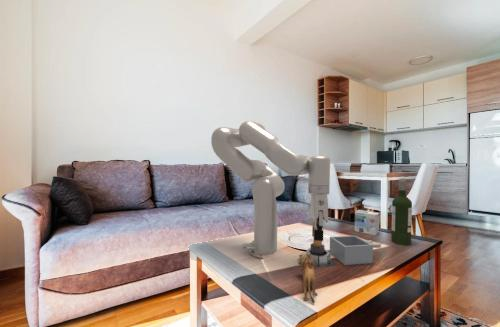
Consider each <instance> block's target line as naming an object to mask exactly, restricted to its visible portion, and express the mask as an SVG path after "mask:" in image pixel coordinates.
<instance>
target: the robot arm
mask: <svg viewBox="0 0 500 327" xmlns="http://www.w3.org/2000/svg"><path fill="white" fill-rule="evenodd" d="M210 140H211V142H210V143H211V148H212V150H213V153H215V155H216V157H217V158H219V160H220V161H221V162H223V163H224V164H225V165H226V166H228V168H229V169H230V170H231V171H232V172H233V173H234V174H235V175H236V176H237V177H238V178H239V179H240V180H242V181H243V183H244V182H245V183H252V184H253V185H252V190H251V191H252V192H251V193H252V198H253V217H254V218H253V219H254V220H253V240H252V241H251V242H249V243H242V249H246V251H249V252H250V255H251V256H253V257H254V258H257V259H262V260H263V259H264V258H263V256H262V255H272V254H275V253H277V251H278V205H277V199H276V198H277V197H279V196H281V195H282V194H283V193H284V191H285V188H286V187H285V186H286V185H285V182H284V180H283V179H282V178H281V176H280V175H279V174H277V172H276V171H274V170H273V169H272V168H271V167H270V166H268V164H266V163H265V162H263V161H261V160H258V159H250V158H248V157H247V156H246V155H245V154H244V153H243V152H242V151H240V150H239V149H238V148H240V147H244V146H249V145H251V146H252V147H253V148H255V149H256V150H258V151H259V152H261V153H262V154H263V155H264V156H265V157H266V158H267V159H268V160H269V161H270V163H272V164H273V165H274V166H275V167H277V168H278V169H280V170H282V172H285V174H287V175H288V176H289V175H290V176H293V177H294V176H295V177H296V176H301V175H308V180H307V181H308V187H307V188H308V190H307V192H308V193H307V194H308V195H309V194H310V216H311V219H312V233H311V234H312V235H311V236H312V237H313V238H314V240H315V241H322V242H323V241H324V222H325V223H328V222H329V198H328V195H330V180H331V179H330V178H331V176H330V175H331V159H330V157H328V156H327V155H326V156H324V155H313V156H307V155H302V154H301V155H300V154H299V155H298V154H296V153H294V152H292V151H290V150H289V149H287V148H286V147H285V146H283V144H281V143H280V142H279V139H278V137H277V136H276V135H274V134H273V133H272V132H270V131H268V130H267V129H266V128H265V126H264V125H263V124H261V123H259V122H256V121H252V120H247V121H244V122H242V123H241V124H240V126H239V127H238V128H233V127H228V126H221V127H218V128H216V129H214V131H213V132H212V135H211V138H210ZM253 182H254V183H253ZM317 220H319V221H317ZM314 221H315V229H314ZM317 223H319V224H317Z"/></svg>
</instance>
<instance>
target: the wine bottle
mask: <svg viewBox="0 0 500 327" xmlns="http://www.w3.org/2000/svg"><path fill="white" fill-rule="evenodd" d="M406 181H407V179H406V178H402V177H400V178H399V179H398V194H397V196H396V197H395V198H393V200H392V201H391V240H390V241H391V242H392V243H393V244H396V245H397V244H398V245H402V246H409V245H411V244H412V221H413V220H412V218H413V217H412V216H413V215H412V214H413V211H412V210H413V202H412V200H411V199H409V197H408V196H407V190H406V189H407V188H406V187H407V186H406Z"/></svg>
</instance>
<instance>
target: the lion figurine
mask: <svg viewBox="0 0 500 327" xmlns="http://www.w3.org/2000/svg"><path fill="white" fill-rule="evenodd" d="M301 255H302V256H301V257H300V256H299V257H298V258H297V259H296V261H297V264H298V265H299V266H301V270H302V279H303V280H302V281H303V295H304V297H303V300H304V301H308V295H309V298H310V300H311V303H312V304H315V303H316V302H315V300H314V298H313V297H317V296H318V293H317V292H316V284H317V283H316V277H315V272H316V267H315V264H314V263H313V260H312V259H311V257H310V255H308V254H306V252H304V253H302V254H301ZM311 289H312V292H311ZM307 290H308V291H307Z"/></svg>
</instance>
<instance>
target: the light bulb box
mask: <svg viewBox="0 0 500 327" xmlns="http://www.w3.org/2000/svg"><path fill="white" fill-rule="evenodd" d="M379 225H380V212H376V211H370V210H363V209H358V210H356V211H355V212H354V232H357V233H362V234H366V235H372V236H377V235H378V234H379V227H380V226H379Z"/></svg>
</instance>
